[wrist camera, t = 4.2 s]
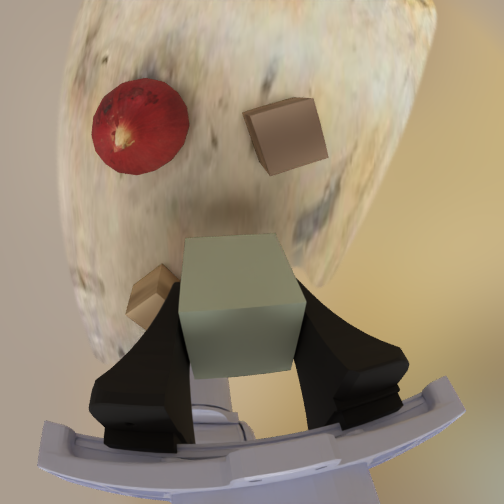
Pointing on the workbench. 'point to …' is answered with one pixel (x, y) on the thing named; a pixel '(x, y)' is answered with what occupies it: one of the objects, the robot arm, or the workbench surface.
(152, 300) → the oak block
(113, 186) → the workbench surface
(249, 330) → the sage block
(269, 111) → the walnut block
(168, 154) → the onion
